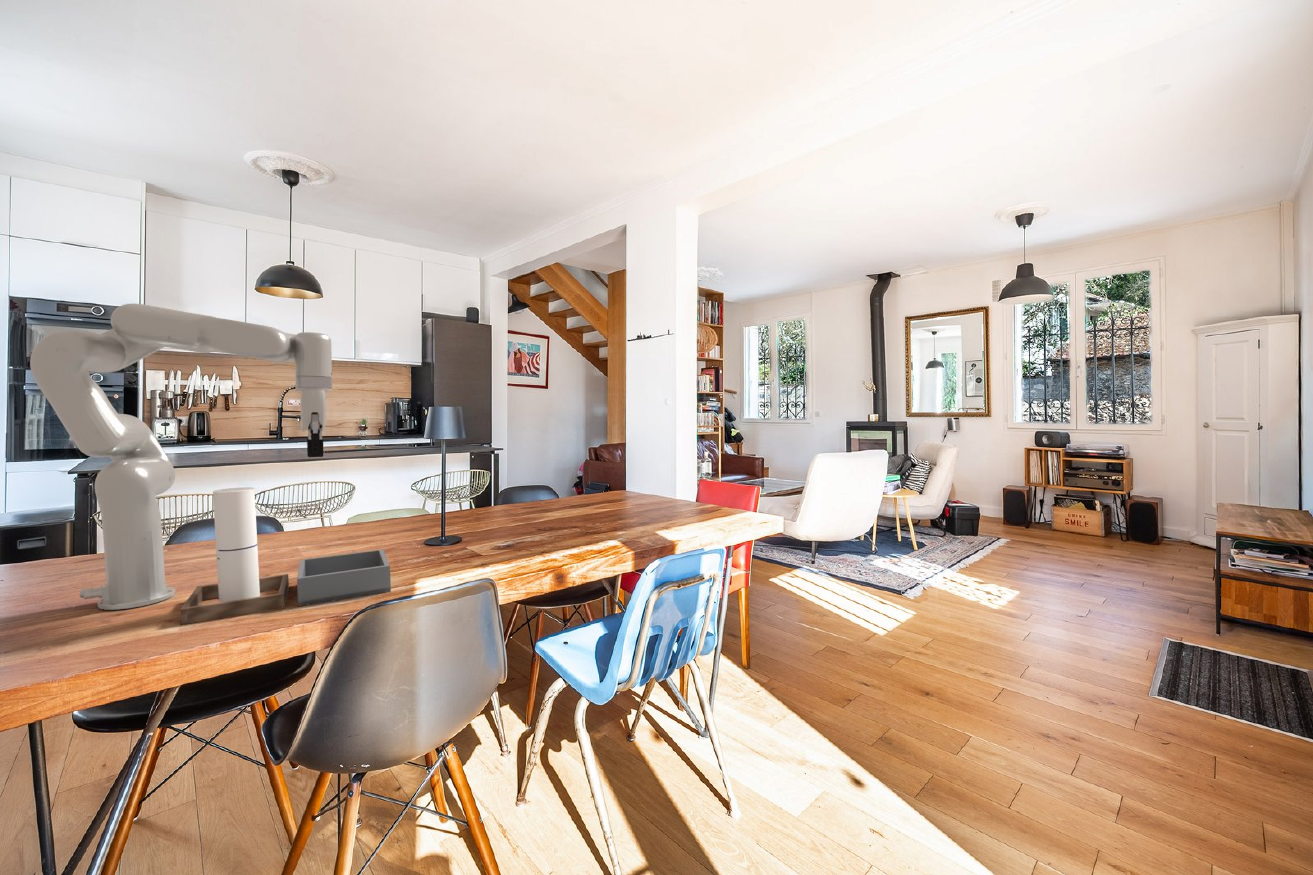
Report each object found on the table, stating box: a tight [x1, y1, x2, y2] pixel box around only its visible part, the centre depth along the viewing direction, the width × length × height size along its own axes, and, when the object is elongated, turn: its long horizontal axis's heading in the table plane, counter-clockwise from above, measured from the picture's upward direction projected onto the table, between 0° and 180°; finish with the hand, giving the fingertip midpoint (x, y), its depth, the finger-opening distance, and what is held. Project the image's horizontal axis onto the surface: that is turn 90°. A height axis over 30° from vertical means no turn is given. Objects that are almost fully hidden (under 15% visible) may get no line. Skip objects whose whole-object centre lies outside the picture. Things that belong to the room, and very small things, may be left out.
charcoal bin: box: [296, 548, 392, 607], centre depth 132 cm, size 18×18×6 cm
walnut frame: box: [179, 573, 290, 625], centre depth 122 cm, size 17×17×3 cm
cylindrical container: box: [212, 486, 261, 603], centre depth 121 cm, size 7×7×25 cm
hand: (315, 455), depth 136 cm, fingers open, 9 cm apart
